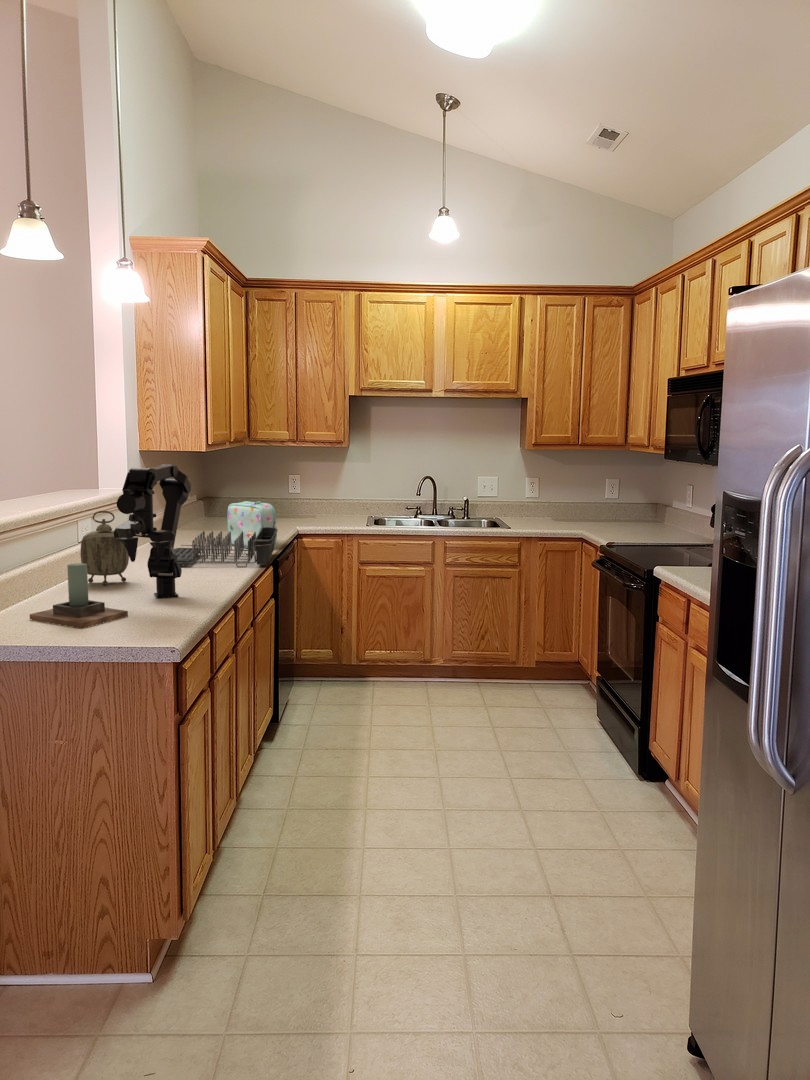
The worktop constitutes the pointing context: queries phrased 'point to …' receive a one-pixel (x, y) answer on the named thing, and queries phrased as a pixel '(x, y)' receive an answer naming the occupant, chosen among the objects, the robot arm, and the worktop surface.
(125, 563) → the tabletop clock
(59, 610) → the walnut seat board
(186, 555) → the dish rack
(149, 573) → the robot arm
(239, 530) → the lunch box
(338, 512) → the worktop surface
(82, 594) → the grey-green canister
